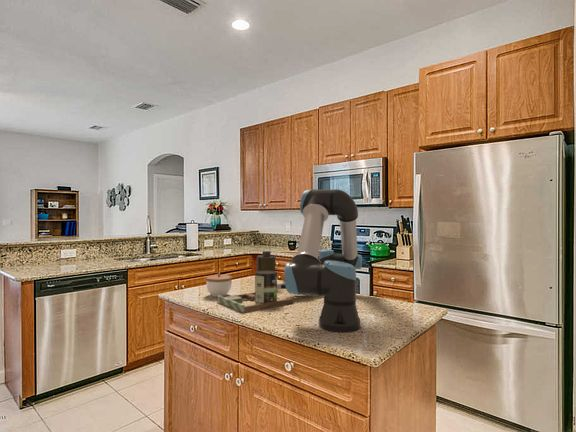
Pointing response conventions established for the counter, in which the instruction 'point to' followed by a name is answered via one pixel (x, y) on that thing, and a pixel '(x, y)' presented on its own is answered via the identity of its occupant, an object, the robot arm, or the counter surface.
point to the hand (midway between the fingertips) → (274, 287)
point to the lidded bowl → (218, 284)
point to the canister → (266, 261)
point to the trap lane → (237, 299)
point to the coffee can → (265, 286)
